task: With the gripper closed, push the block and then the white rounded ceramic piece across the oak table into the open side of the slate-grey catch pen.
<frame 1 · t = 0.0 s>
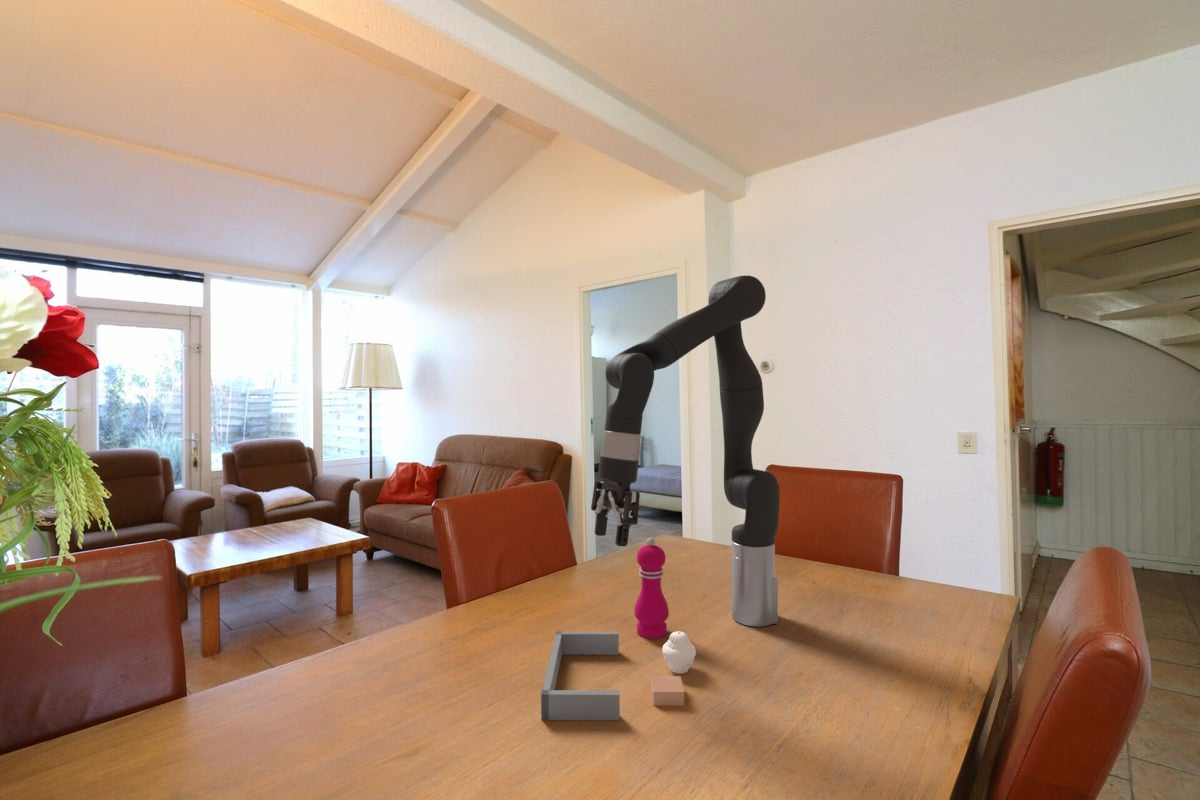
hand: (610, 540, 107), 22 cm above the table, tool pointing down, fingers open, 8 cm apart
white rounded ceramic piece: (679, 670, 102), on the table
pepper mill: (651, 633, 118), on the table
block: (667, 698, 93), on the table
catch pen: (584, 681, 98), on the table
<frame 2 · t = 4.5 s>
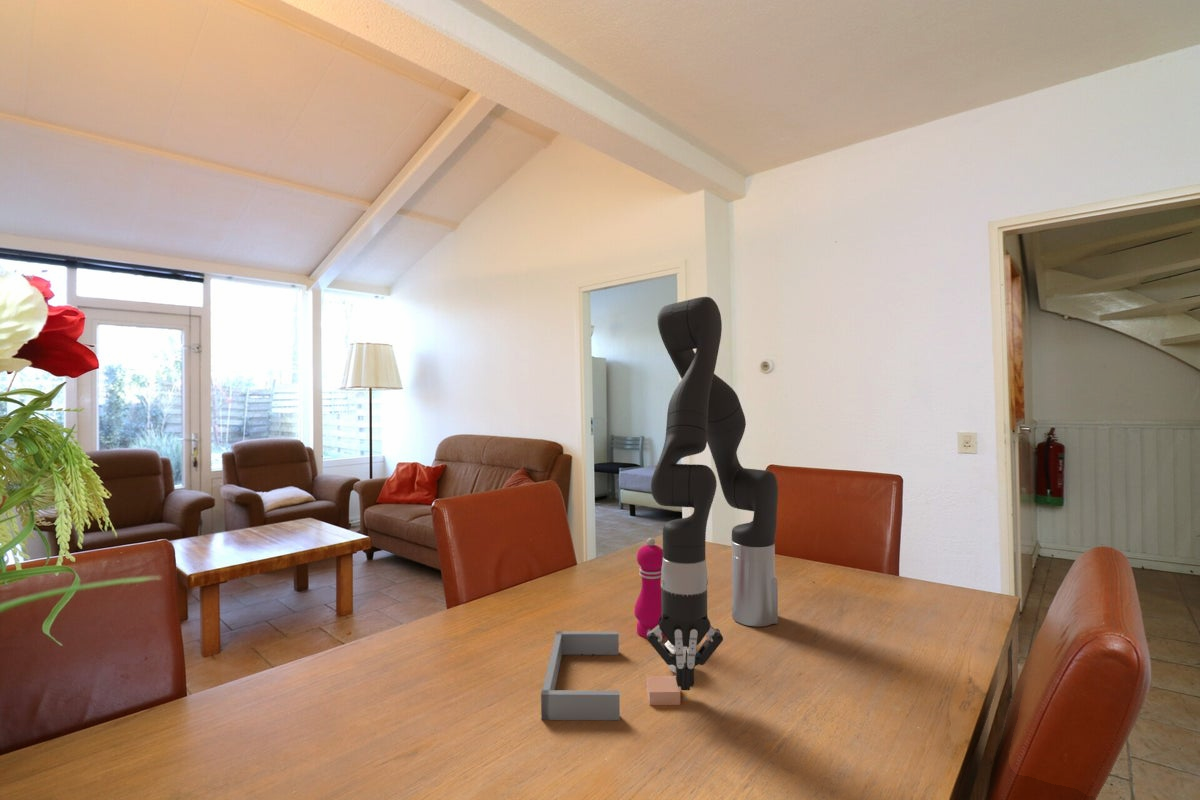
hand: (684, 687, 93), 2 cm above the table, tool pointing down, fingers closed
block: (663, 698, 93), on the table, touching gripper
everything else where it was.
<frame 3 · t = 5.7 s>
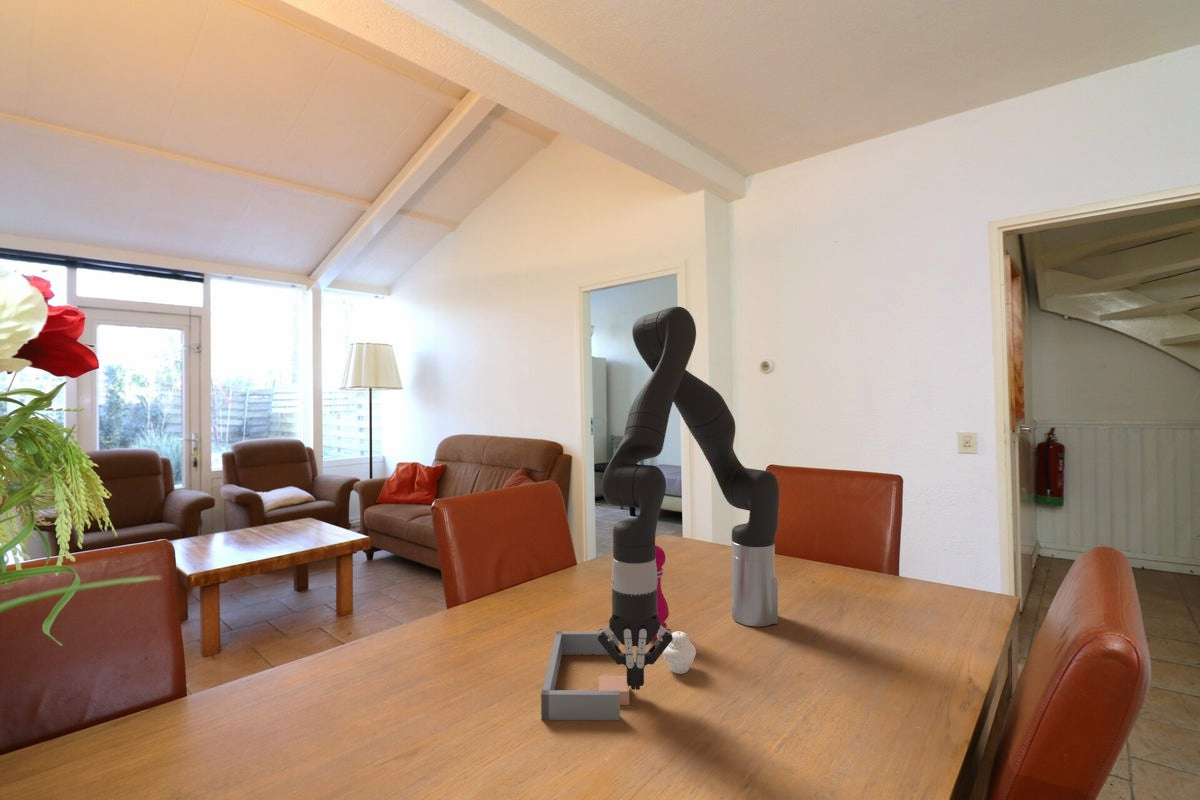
hand: (635, 687, 93), 2 cm above the table, tool pointing down, fingers closed
block: (613, 698, 93), on the table, touching gripper
everything else where it was.
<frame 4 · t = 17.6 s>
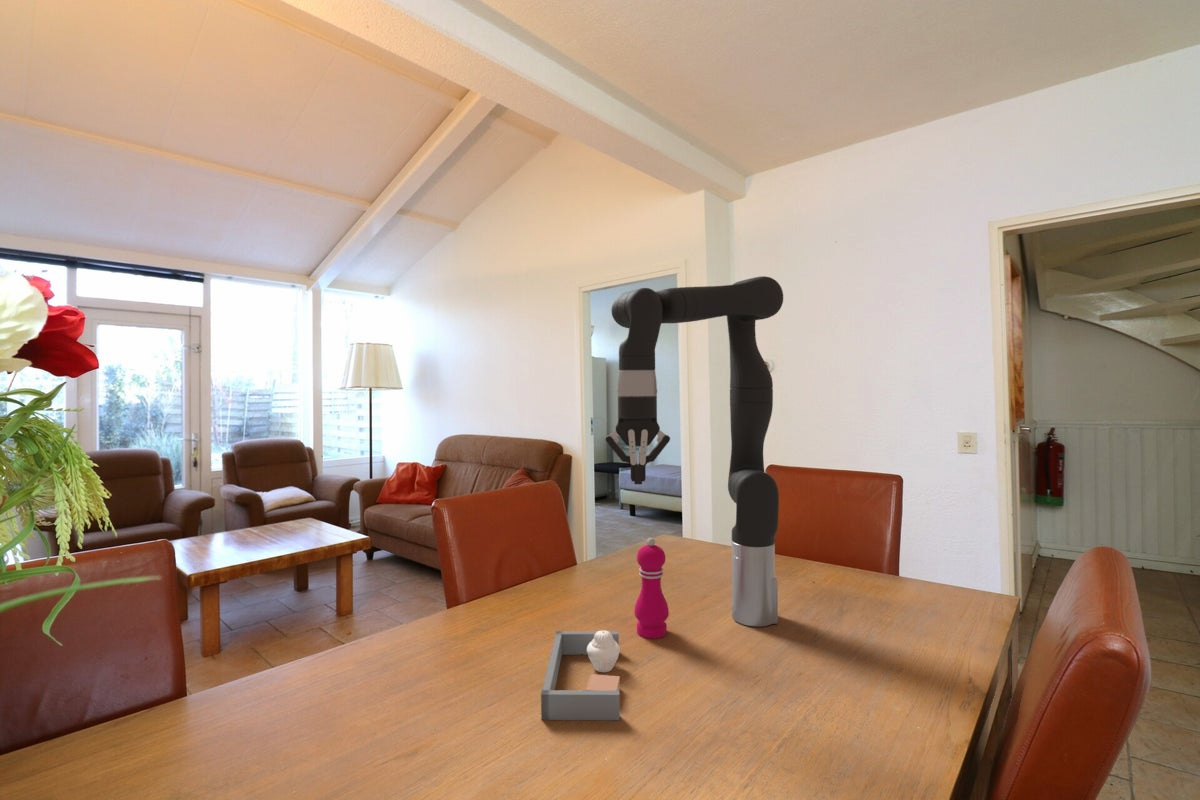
hand: (637, 483, 108), 33 cm above the table, tool pointing down, fingers closed
white rounded ceramic piece: (603, 669, 103), on the table
block: (603, 697, 94), on the table
everything else where it was.
at the end: white rounded ceramic piece inside the target area (5.8 cm from its centre), on the table; block inside the target area (5.4 cm from its centre), on the table; white rounded ceramic piece touching table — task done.
